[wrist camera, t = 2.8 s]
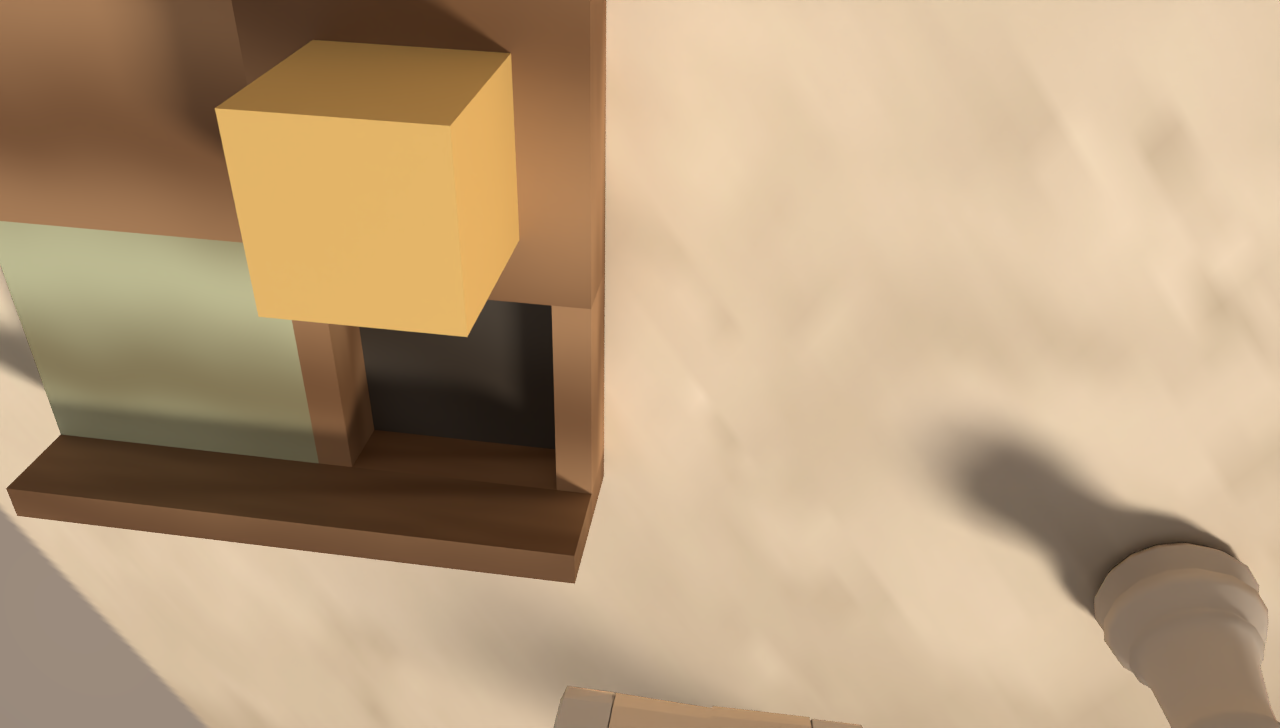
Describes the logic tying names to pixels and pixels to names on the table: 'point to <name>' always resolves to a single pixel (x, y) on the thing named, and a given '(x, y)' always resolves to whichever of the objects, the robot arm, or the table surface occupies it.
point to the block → (375, 184)
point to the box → (289, 349)
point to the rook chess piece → (1190, 634)
